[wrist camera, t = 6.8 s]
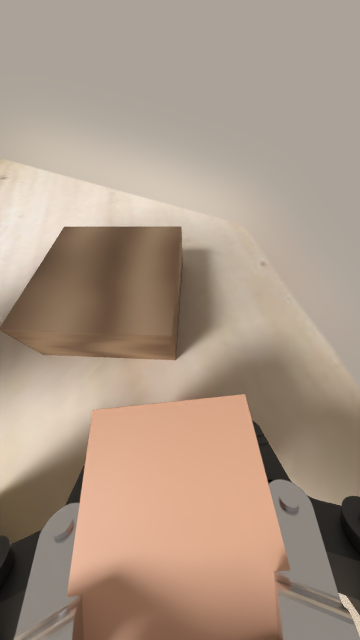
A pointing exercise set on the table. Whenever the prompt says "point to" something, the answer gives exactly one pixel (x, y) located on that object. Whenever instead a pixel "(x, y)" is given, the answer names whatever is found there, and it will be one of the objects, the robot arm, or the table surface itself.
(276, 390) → the table surface
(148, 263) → the walnut block
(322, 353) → the table surface
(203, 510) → the terracotta block
